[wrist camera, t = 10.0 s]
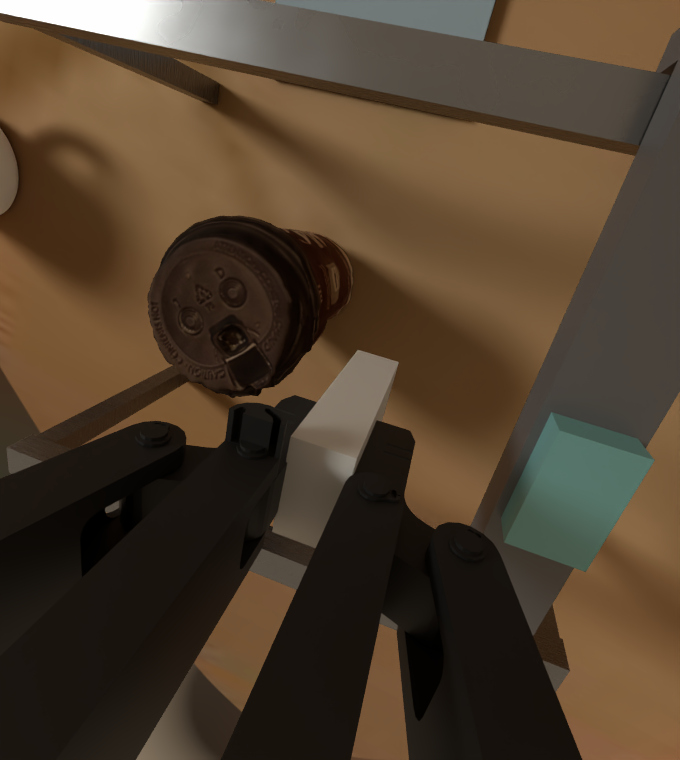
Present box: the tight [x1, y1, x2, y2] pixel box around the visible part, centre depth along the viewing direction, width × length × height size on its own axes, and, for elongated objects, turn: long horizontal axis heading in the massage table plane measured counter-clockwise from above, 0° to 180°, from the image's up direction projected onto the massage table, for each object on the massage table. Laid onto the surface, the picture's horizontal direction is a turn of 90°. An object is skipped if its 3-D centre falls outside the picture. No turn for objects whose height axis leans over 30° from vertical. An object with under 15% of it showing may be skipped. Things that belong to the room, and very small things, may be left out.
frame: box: [0, 0, 671, 692], centre depth 23 cm, size 28×22×15 cm
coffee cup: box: [148, 216, 354, 398], centre depth 25 cm, size 9×8×13 cm
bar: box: [470, 28, 680, 635], centre depth 14 cm, size 3×24×5 cm, turn 167°
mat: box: [276, 0, 496, 41], centre depth 24 cm, size 12×9×1 cm
